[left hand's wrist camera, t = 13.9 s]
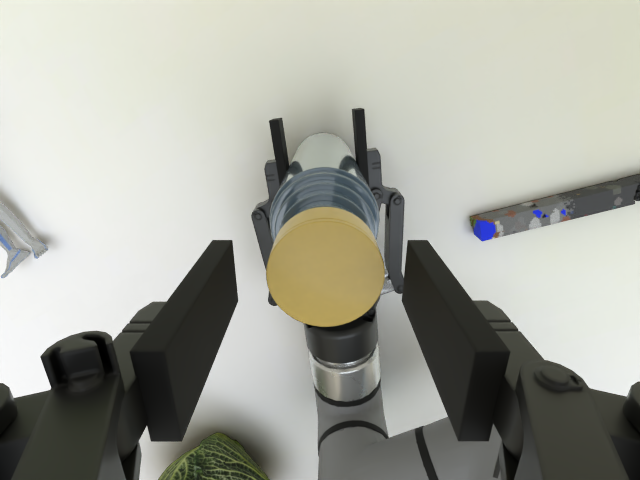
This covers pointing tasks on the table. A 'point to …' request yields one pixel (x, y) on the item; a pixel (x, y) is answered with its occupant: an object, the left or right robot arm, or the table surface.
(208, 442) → the vegetable
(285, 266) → the cap
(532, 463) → the left robot arm
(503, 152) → the table surface
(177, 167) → the table surface
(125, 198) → the table surface
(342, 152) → the bottle
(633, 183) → the pillar
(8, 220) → the toy
